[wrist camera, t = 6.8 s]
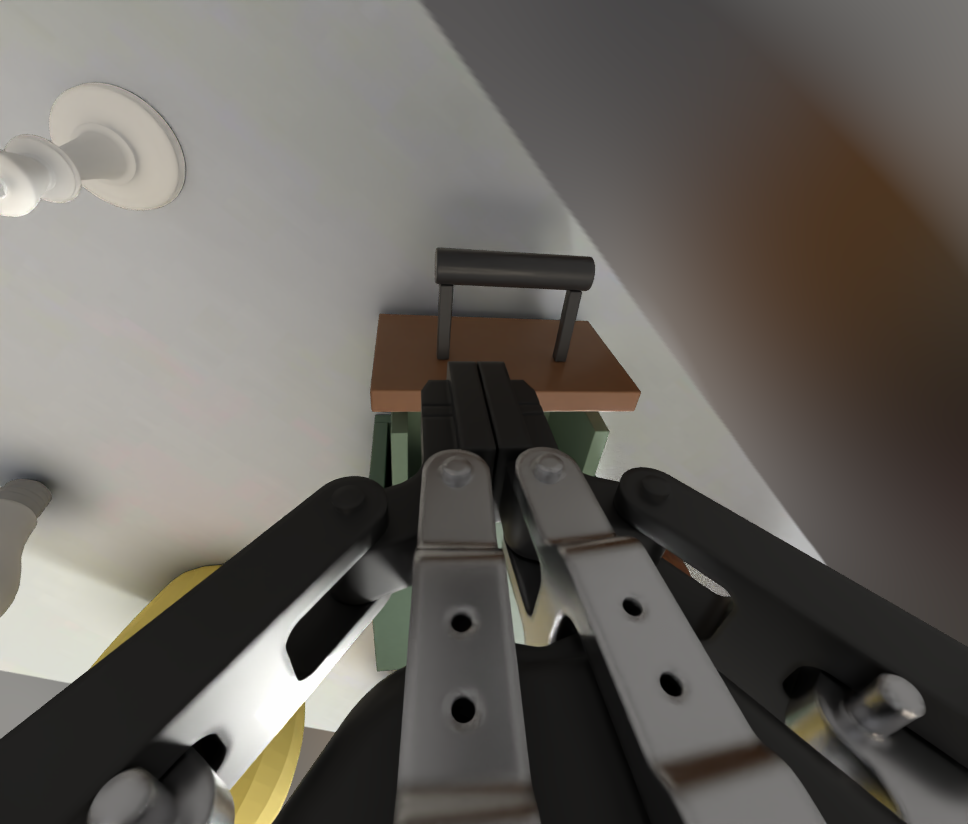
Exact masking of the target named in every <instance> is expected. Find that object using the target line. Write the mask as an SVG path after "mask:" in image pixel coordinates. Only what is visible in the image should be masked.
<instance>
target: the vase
mask: <svg viewBox="0 0 968 824" xmlns="http://www.w3.org/2000/svg"><path fill="white" fill-rule="evenodd" d="M221 566H222V565H215V566H205V567H200V568H197V569H194V570H190V571H187V572H185V573H183V574H182V575H180V576H179V577H177V578H176V579H174V580H173V581H172V582H171V583H170V584H168V585H167V586H166V587H165V588H164V589H163V590H162V591H161V592H160V593H159V594H158V595H157V596H156V597H155V598H154V599H153V600H152V601H151V602H150V603H149V604H148V605H147V606H146V607H145V608H144V609H143V610H142V611H141V612H140V613H139V614H138V615H137V616H136V617H135V618H134V619H133V620H132V621H131V623H130V624H129V625H128V626H127V627H126V628H125V629H124V630H123V631H122V632H121V633H120V634H119V636H118V637H117V638H116V639H115V640H114V641H113V642H112V643H111V644H110V646H109V647H108V648H107V649H106V650H105V651H104V652H103V654H102V655H101V656H100V657H99V658H98V659H97V661H96V662H95V663H94V664H93V665H92V667H93V666H94V665H96V664H97V663H98V662H99V661H101V660H102V659H103V658H105V657H106V656H107V655H108V654H110V653H111V652H112V651H113V650H115V649H116V648H117V647H119V646H120V645H121V644H122V643H124V642H125V641H126V640H128V639H129V638H130V637H131V636H133V635H134V634H135V633H136V632H138V631H139V630H140V629H142V628H143V627H144V626H145V625H147V624H148V623H149V622H150V621H152V620H153V619H154V618H156V617H157V616H158V615H159V614H161V613H162V612H163V611H164V610H166V609H167V608H168V607H170V606H171V605H172V604H173V603H175V602H176V601H177V600H179V599H180V598H181V597H182V596H184V595H185V594H186V593H187V592H189V591H190V590H191V589H193V588H194V587H195V586H196V585H198V584H199V583H200V582H201V581H203V580H204V579H205V578H207V577H208V576H209V575H210V574H212V573H213V572H214V571H215V570H217V569H218V568H219V567H221ZM92 667H91V668H92ZM91 668H90V669H91ZM304 720H305V701H304V702H303V703H302V705H301V706H300V707H299V708H298V709H297V711H296V712H295V713H294V714H293V715H292V717H291V718H290V719H289V720H288V721H287V723H286V724H285V725H284V726H283V727H282V729H281V730H280V731H279V732H278V733H277V735H276V736H275V737H274V738H273V739H272V740H271V742H270V743H269V744H268V745H267V746H266V748H265V749H264V750H263V751H262V752H261V754H260V755H259V756H258V757H257V758H256V760H255V761H254V762H253V763H252V764H251V766H250V767H249V768H248V769H247V770H246V772H245V773H244V774H243V775H242V776H241V777H240V779H239V780H238V781H237V782H236V783H235V785H234V786H233V787H232V788H231V789H230V792H231V795H232V797H233V801H234V806H235V820H234V824H272V822H273V821H274V820H275V818H276V817H277V815H278V813H279V811H280V810H281V807H282V805H283V803H284V801H285V798H286V796H287V794H288V791H289V788H290V785H291V782H292V779H293V776H294V772H295V769H296V765H297V761H298V758H299V754H300V749H301V745H302V739H303V731H304Z"/></svg>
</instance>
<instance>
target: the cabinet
mask: <svg viewBox="0 0 968 824" xmlns="http://www.w3.org/2000/svg"><path fill="white" fill-rule="evenodd" d="M374 423H375V424H374V433H373V443H372V454H371V465H370V475H369V479H372V480H374V481H376V482H377V483H379V484H380V485H381V486H382V487H383V488H387V487H390V486H392V464H391V415H376V416H375V422H374ZM594 477H596V476H594ZM495 525H496V535H497V544H498V548H501V544H502V539H503V528H502V523H501V522H495ZM506 570H507V569H506ZM507 578H508V587H509V596H510V604H511V613H512V621H513V630H514V639H515V643H518V644H524V631H523V625H522V621H521V618H520V614H519V611H518V607H517V604H516V600H515V597H514V593H513V590H512V586H511V583H510V579H509V576H508V572H507ZM411 595H412V586H409V587H407V588H404V589H402V590H399V591H397V592H394V593H392V594H391V596H390V598H389V600H388V602H387V603H386V604H385V606H384V607H383V608H382V609H381V610H380V612H379V613H378V614H377V615H376V616H375V618H374V619H373V631H374V643H375V654H376V666H377V671H387V670H398V669H401V668H403V667H404V666H406V662H407V649H408V635H409V622H410V608H411Z"/></svg>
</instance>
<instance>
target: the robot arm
mask: <svg viewBox="0 0 968 824" xmlns="http://www.w3.org/2000/svg"><path fill="white" fill-rule="evenodd" d="M421 453H422V466H421V468H420V469H419V471H418V472H417V473H416V474H415V475H414V476H413V477H411V478H410V479H408V480H406V481H404V482H402V483H400V484H397V485H393V486H390V487H387V488H383V487H382V486H381V485H380V484H379V483H377V482H376V481H374V480H372V479H369V478H366V477H360V476H349V477H343V478H339V479H336V480H333V481H331V482H329V483H327V484H326V485H324V486H323V487H321V488H320V489H319V490H317V491H316V492H315V493H314V494H312V495H311V496H310V497H309V498H307V499H306V500H305V501H303V502H302V503H301V504H300V505H298V506H297V507H296V508H295V509H293V510H292V511H291V512H289V513H288V514H287V515H286V516H284V517H283V518H282V519H281V520H279V521H278V522H277V523H275V524H274V525H273V526H272V527H270V528H269V529H268V530H266V531H265V532H264V533H263V534H261V535H260V536H259V537H258V538H256V539H255V540H254V541H252V542H251V543H250V544H249V545H247V546H246V547H245V548H244V549H242V550H241V551H240V552H238V553H237V554H236V555H235V556H233V557H232V558H231V559H230V560H228V561H227V562H226V563H224V564H223V565H222V566H221V567H219V568H218V569H217V570H215V571H214V572H213V573H212V574H210V575H209V576H208V577H207V578H205V579H204V580H203V581H201V582H200V583H199V584H198V585H196V586H195V587H194V588H193V589H191V590H190V591H189V592H187V593H186V594H185V595H184V596H182V597H181V598H180V599H179V600H177V601H176V602H175V603H173V604H172V605H171V606H170V607H168V608H167V609H166V610H164V611H163V612H162V613H161V614H159V615H158V616H157V617H156V618H154V619H153V620H152V621H150V622H149V623H148V624H147V625H145V626H144V627H143V628H142V629H140V630H139V631H138V632H136V633H135V634H134V635H133V636H131V637H130V638H129V639H128V640H126V641H125V642H124V643H122V644H121V645H120V646H119V647H117V648H116V649H115V650H113V651H112V652H111V653H110V654H108V655H107V656H106V657H105V658H103V659H102V660H101V661H99V662H98V663H97V664H96V665H94V666H93V667H92V668H91V669H89V670H88V671H87V672H85V673H84V674H83V675H82V676H80V677H79V678H78V679H76V680H75V681H74V682H73V683H71V684H70V685H69V686H68V687H66V688H65V689H64V690H63V691H61V692H60V693H59V694H57V695H56V696H55V697H54V698H52V699H51V700H50V701H48V702H47V703H46V704H45V705H44V706H42V707H41V708H40V709H39V710H37V711H36V712H35V713H33V714H32V715H31V716H29V717H28V718H27V719H26V720H24V721H23V722H22V723H21V724H19V725H18V726H17V727H15V728H14V729H13V730H11V731H10V732H9V733H8V734H6V735H5V736H4V737H3V738H1V739H0V824H234V820H235V806H234V801H233V797H232V795H231V792H230V789H231V788H232V787H233V786H234V785H235V783H236V782H237V781H238V780H239V779H240V777H241V776H242V775H243V774H244V773H245V772H246V770H247V769H248V768H249V767H250V766H251V764H252V763H253V762H254V761H255V760H256V758H257V757H258V756H259V755H260V754H261V752H262V751H263V750H264V749H265V748H266V746H267V745H268V744H269V743H270V742H271V740H272V739H273V738H274V737H275V736H276V735H277V733H278V732H279V731H280V730H281V729H282V727H283V726H284V725H285V724H286V723H287V721H288V720H289V719H290V718H291V717H292V715H293V714H294V713H295V712H296V711H297V709H298V708H299V707H300V706H301V705H302V703H303V702H304V701H305V700H306V699H307V698H308V696H309V695H310V694H311V693H312V692H313V690H314V689H315V688H316V687H317V686H318V684H319V683H320V682H321V681H322V680H323V678H324V677H325V676H326V675H327V674H328V672H329V671H330V670H331V669H332V668H333V666H334V665H335V664H336V663H337V662H338V661H339V659H340V658H341V657H342V656H343V655H344V653H345V652H346V651H347V650H348V649H349V647H350V646H351V645H352V644H353V643H354V641H355V640H356V639H357V638H358V637H359V635H360V634H361V633H362V632H363V631H364V629H365V628H366V627H367V626H368V625H369V624H370V622H371V621H372V620H373V619H374V618H375V616H376V615H377V614H378V613H379V612H380V610H381V609H382V608H383V607H384V606H385V604H386V603H387V602H388V600H389V598H390V596H391V594H392V593H394V592H397V591H399V590H402V589H404V588H407V587H409V586H412V595H411V608H410V622H409V635H408V649H407V662H406V666H404V667H403V668H401V669H399V670H397V671H395V672H393V673H392V674H390V675H389V676H387V677H386V678H385V679H383V680H382V681H380V682H379V683H378V684H377V685H376V686H375V687H373V688H372V689H371V690H370V691H369V692H368V693H367V694H366V695H365V696H364V697H363V698H362V699H361V700H360V701H359V702H358V703H357V705H356V706H355V707H354V708H353V709H352V710H351V712H350V713H349V714H348V716H347V717H346V718H345V720H344V721H343V722H342V724H341V725H340V727H339V728H338V730H337V731H336V732H335V734H334V735H333V737H332V738H331V740H330V741H329V742H328V744H327V745H326V747H325V748H324V750H323V751H322V752H321V754H320V755H319V757H318V758H317V760H316V761H315V762H314V764H313V765H312V767H311V768H310V770H309V771H308V773H307V774H306V775H305V777H304V778H303V780H302V781H301V783H300V784H299V785H298V787H297V788H296V790H295V791H294V793H293V794H292V795H291V797H290V798H289V800H288V801H287V803H286V804H285V805H284V807H283V808H282V810H281V811H280V812H279V814H278V815H277V817H276V818H275V820H274V821H273V822H272V824H968V647H967V646H965V645H963V644H962V643H960V642H958V641H957V640H955V639H953V638H951V637H950V636H948V635H946V634H944V633H943V632H941V631H939V630H937V629H936V628H934V627H932V626H931V625H929V624H927V623H925V622H924V621H922V620H920V619H918V618H917V617H915V616H913V615H911V614H909V613H908V612H906V611H904V610H903V609H901V608H899V607H898V606H896V605H894V604H892V603H890V602H889V601H887V600H885V599H884V598H882V597H880V596H878V595H877V594H875V593H873V592H871V591H870V590H868V589H866V588H864V587H863V586H861V585H859V584H857V583H856V582H854V581H852V580H850V579H849V578H847V577H845V576H844V575H842V574H840V573H838V572H837V571H835V570H833V569H831V568H830V567H828V566H826V565H825V564H823V563H821V562H819V561H818V560H816V559H814V558H812V557H811V556H809V555H807V554H805V553H804V552H802V551H800V550H798V549H797V548H795V547H793V546H791V545H790V544H788V543H786V542H785V541H783V540H781V539H779V538H778V537H776V536H774V535H772V534H771V533H769V532H767V531H765V530H764V529H762V528H760V527H758V526H757V525H755V524H753V523H751V522H750V521H748V520H746V519H745V518H743V517H741V516H739V515H738V514H736V513H734V512H732V511H731V510H729V509H727V508H725V507H724V506H722V505H720V504H718V503H717V502H715V501H713V500H711V499H710V498H708V497H706V496H705V495H703V494H701V493H699V492H698V491H696V490H694V489H692V488H691V487H689V486H687V485H685V484H684V483H682V482H680V481H678V480H677V479H675V478H673V477H671V476H670V475H668V474H666V473H664V472H661V471H659V470H656V469H652V468H645V467H639V468H633V469H630V470H628V471H626V472H625V473H624V474H623V475H622V477H621V479H620V482H617V481H613V480H608V479H603V478H598V477H594V476H590V475H587V474H584V473H582V471H581V469H580V468H579V466H578V464H577V463H576V462H575V460H574V459H573V458H571V457H570V456H569V455H567V454H566V453H564V452H562V451H560V450H559V449H558V446H557V444H556V441H555V439H554V436H553V434H552V431H551V429H550V426H549V424H548V422H547V419H546V417H545V415H544V412H543V409H542V407H541V405H540V402H539V399H538V397H537V394H536V392H535V390H534V389H533V388H532V387H531V386H530V385H528V384H527V383H526V382H525V381H524V380H510V377H509V374H508V371H507V368H506V365H505V363H504V362H503V361H477V362H475V361H448V363H447V378H446V380H428V381H427V383H426V384H425V386H424V387H423V389H422V390H421ZM495 522H501V523H502V528H503V539H502V544H501V548H498V544H497V535H496V525H495ZM666 549H667V550H668V551H670V552H671V553H673V554H674V555H676V556H677V557H679V558H680V559H682V560H683V561H685V562H686V563H688V564H689V565H691V566H692V567H694V568H695V569H697V570H698V571H700V572H701V573H702V574H704V575H705V576H707V577H708V578H710V579H711V580H713V581H714V582H716V583H717V584H719V585H720V586H722V587H723V588H724V589H725V590H726V591H727V592H728V593H729V594H730V597H724V596H720V595H717V594H715V593H714V592H712V591H711V590H709V589H708V588H706V587H705V586H703V585H702V584H700V583H699V582H697V581H696V580H694V579H693V578H692V577H690V576H689V575H687V574H686V573H684V572H683V571H681V570H680V569H678V568H677V567H676V566H674V565H673V564H671V563H670V562H668V561H667V560H665V559H664V558H662V556H663V554H664V552H665V550H666ZM506 569H507V570H506ZM507 572H508V576H509V579H510V583H511V586H512V590H513V593H514V597H515V600H516V604H517V607H518V611H519V614H520V618H521V621H522V625H523V631H524V644H518V643H515V639H514V630H513V621H512V613H511V604H510V596H509V587H508V578H507Z"/></svg>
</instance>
